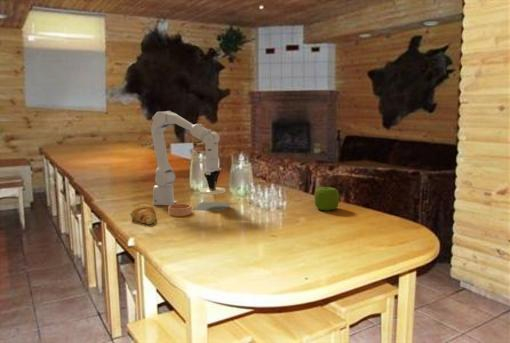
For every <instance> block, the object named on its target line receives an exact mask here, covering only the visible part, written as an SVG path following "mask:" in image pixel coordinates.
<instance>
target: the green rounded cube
mask: <svg viewBox="0 0 510 343" xmlns="http://www.w3.org/2000/svg"><path fill="white" fill-rule="evenodd" d="M339 193H340V192H339V190H338V189H336V188H335V187H332V186H331V187H330V186H328V185H327V186H319V187H318V188H316V189H315V191H314V205H315V207H316V208H317V209H318V210H319V209H320V210H319V211H322V210H324V211H323V212H330V210H331V211H333V210H335V209H337V208H338V207H339V203H340V202H339V201H340V194H339Z"/></svg>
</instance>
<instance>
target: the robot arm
mask: <svg viewBox="0 0 510 343" xmlns="http://www.w3.org/2000/svg"><path fill="white" fill-rule="evenodd" d="M151 118H152V121H151V122H152V124H151V128H150V133H151V138H152V142H153V148H154V154H155V159H156V164H157V165H156V166H157V168H156V169H155V177H154V181H155V183H156V185H154V186H153V188H152V206H170V205H173V204H176V203H177V202H178V200H175V194H174V193H175V191H174V182H175V181H176V179H177V176H176V174H175V172H174V170H173V167H172V165H171V164H170V161H169V156H168V152H167V150H168V149H167V146H166V145H167V144H166V140H165V133H164V131H165V130H166V129H167V127H169V126H170V125H174V124H175V125H177V126H179V127H181V128H183V129H186V130H188V131H189V132H190V134H191V136H193V137H195V138H196V139H199V140H200V141H202V142H203V143H204V145H205V173H203V174H204V177H205V179H206V181H207V186H208V188H209V189H214V185H215V181H216V185H217V184H218V178H219V176H220V174H221V170H222V168H221V167H219V142H220V141H221V140H220V139H221V136H220V134H219V133H218V132H217V131H212V130H211V129H210V128H206V127H204V126H203V124H202V123H195V124H193V123H192V122H190V121H188V120H187V119H185V118H183V117H182V116H181V115H179V114H177V113H176V112H172V111H171V110H166V111H156V112H155V114H154V115H152V117H151Z"/></svg>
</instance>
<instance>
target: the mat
mask: <svg viewBox="0 0 510 343" xmlns="http://www.w3.org/2000/svg"><path fill="white" fill-rule="evenodd" d="M232 204H233V202H218V201H217V202H214V201H202V202H200V203H198V205H196V206H195V207H194V208H192V211H193V210H194V211H195V210H196V211H199V210H200V211H218V212H225V211H226V210H227V209H228V208H229V207H230V206H231V205H232Z"/></svg>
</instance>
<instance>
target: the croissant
mask: <svg viewBox="0 0 510 343" xmlns="http://www.w3.org/2000/svg"><path fill="white" fill-rule="evenodd" d="M130 217H131V219H132V220H133V221H135V222H137V223H141V224H146V225H151V224H153V223H155V221H156V219H157V213H156V211H155V209H154V207H153V205H150V204H148V203H144V202H143V203H141V204H138V205H135V207H133V209H132V210H131V212H130Z"/></svg>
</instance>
